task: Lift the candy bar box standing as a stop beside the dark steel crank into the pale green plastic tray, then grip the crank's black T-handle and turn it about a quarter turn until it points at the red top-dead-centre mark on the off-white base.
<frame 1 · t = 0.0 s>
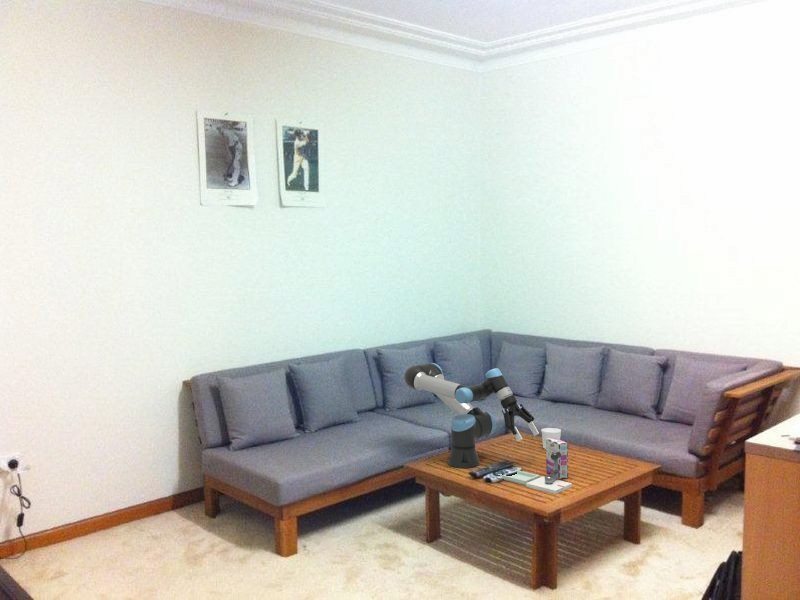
hand: (528, 437, 341), 15 cm above the table, tool tilted 35°, fingers open, 13 cm apart
tray: (516, 478, 329), on the table
candy bar box: (557, 476, 332), on the table
cup: (551, 449, 377), on the table
crank: (552, 467, 319), point 8 cm above the table, hinge at 97.0°
crank base: (548, 486, 317), on the table
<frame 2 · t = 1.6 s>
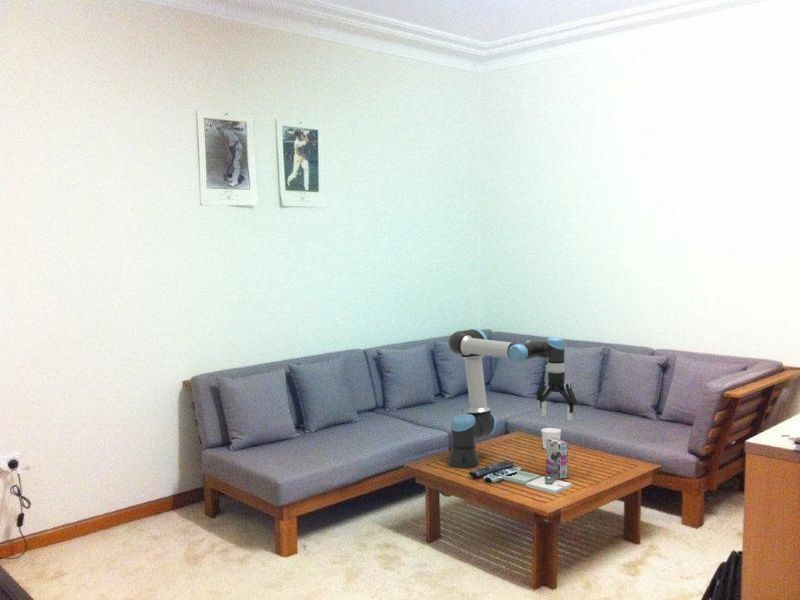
hand: (556, 417, 330), 27 cm above the table, tool pointing down, fingers open, 13 cm apart
nothing on the table moved.
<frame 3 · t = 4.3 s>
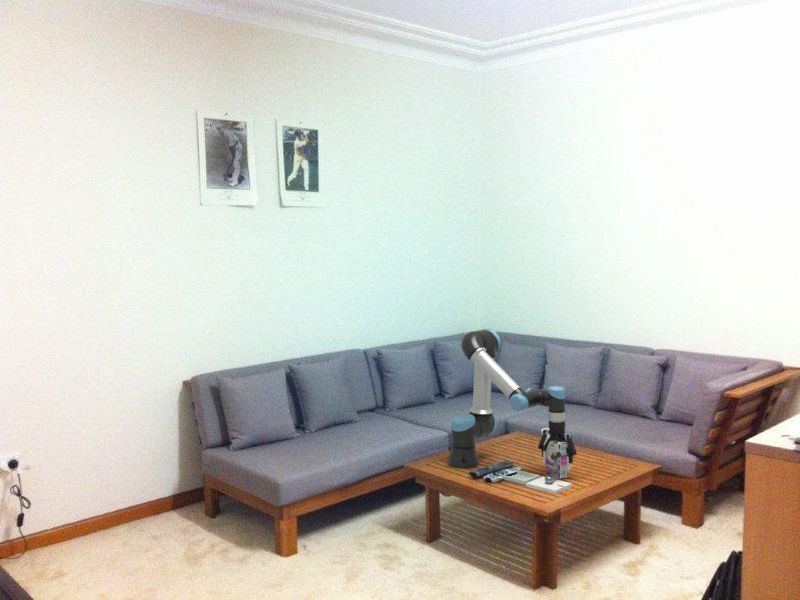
hand: (557, 467, 332), 4 cm above the table, tool pointing down, fingers closed on candy bar box, 12 cm apart
candy bar box: (557, 476, 332), on the table, touching gripper
everything else where it was.
when the fingers open (6 cm above the table, at t = 11.4 s): candy bar box stays where it is, resting on tray.
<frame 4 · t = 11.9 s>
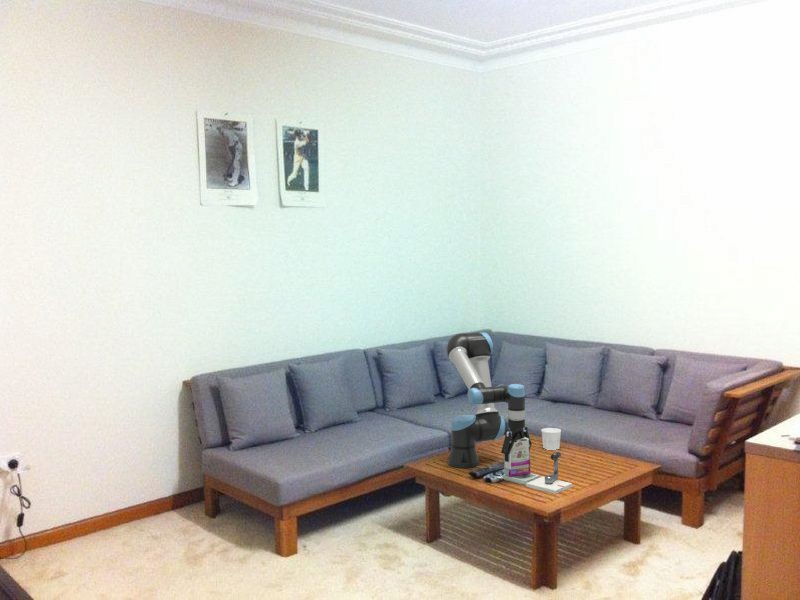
hand: (516, 465, 328), 6 cm above the table, tool pointing down, fingers open, 13 cm apart
candy bar box: (517, 474, 328), point 2 cm above the table, touching tray
everything else where it was.
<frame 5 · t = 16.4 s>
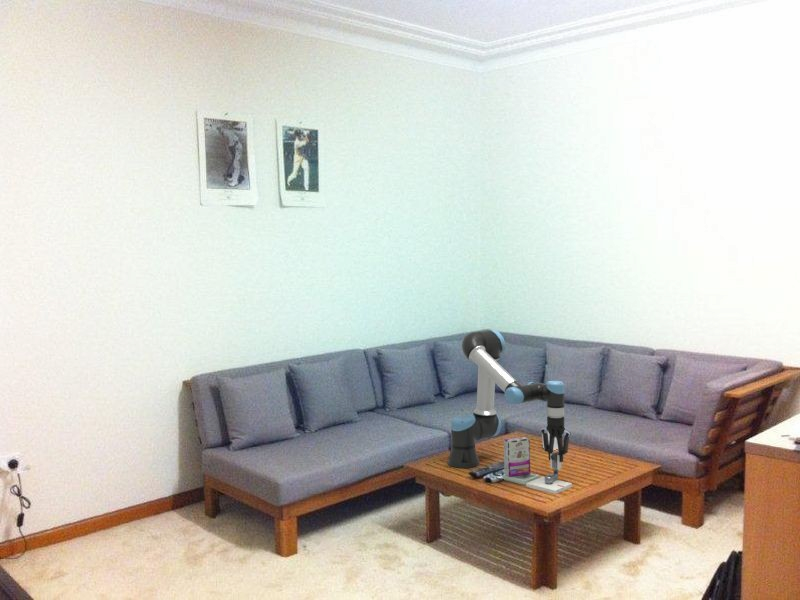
hand: (555, 468, 322), 7 cm above the table, tool pointing down, fingers closed on crank, 3 cm apart
crank: (552, 467, 319), point 8 cm above the table, hinge at 97.0°, touching gripper
everything else where it was.
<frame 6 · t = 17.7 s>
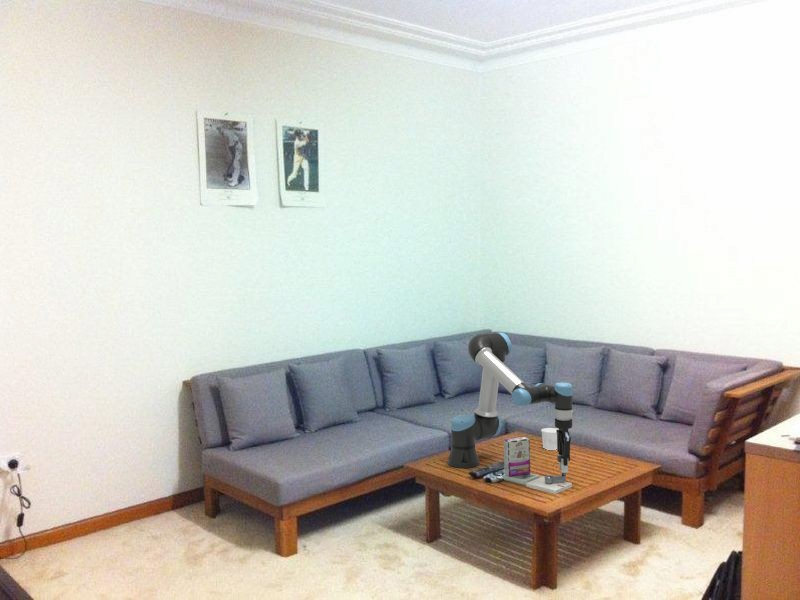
hand: (563, 470, 318), 6 cm above the table, tool pointing down, fingers closed on crank, 3 cm apart
crank: (557, 468, 317), point 8 cm above the table, hinge at 56.7°, touching gripper
everything else where it was.
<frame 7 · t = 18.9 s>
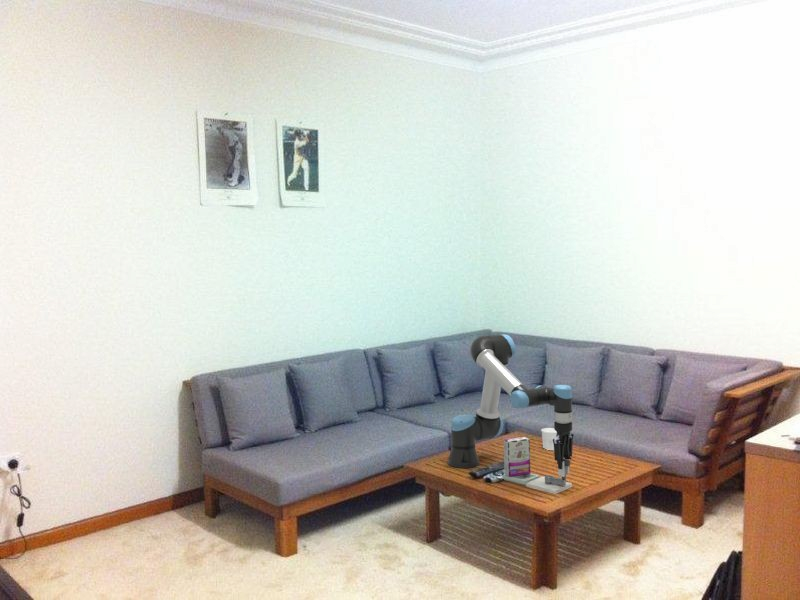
hand: (563, 474, 312), 6 cm above the table, tool pointing down, fingers closed on crank, 3 cm apart
crank: (557, 471, 314), point 8 cm above the table, hinge at 7.0°, touching gripper
everything else where it was.
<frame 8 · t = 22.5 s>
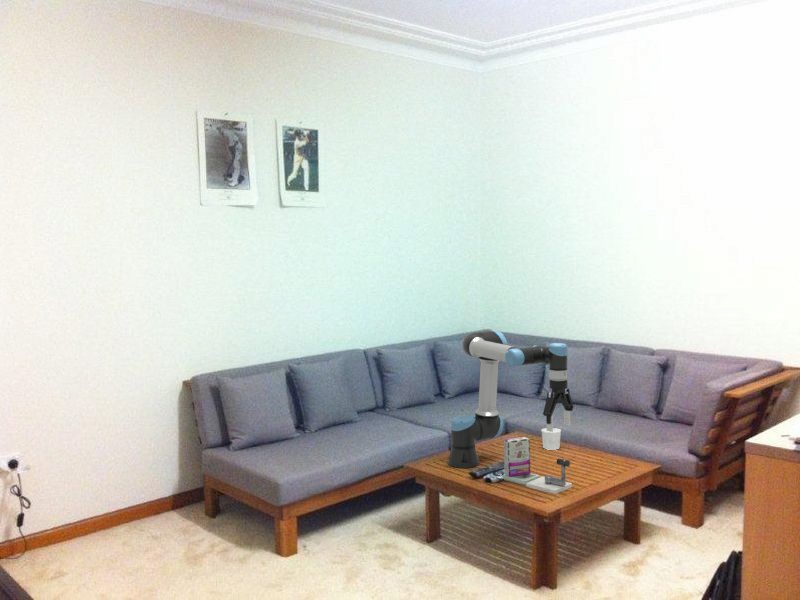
hand: (558, 428, 311), 27 cm above the table, tool pointing down, fingers open, 13 cm apart
crank: (556, 471, 314), point 8 cm above the table, hinge at 4.9°
everything else where it was.
at the end: crank at +5° (first picture: +97°); candy bar box inside the target area on the tray (0.0 cm from its centre), point 1.8 cm above the tray's base; candy bar box tilted 0° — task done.
